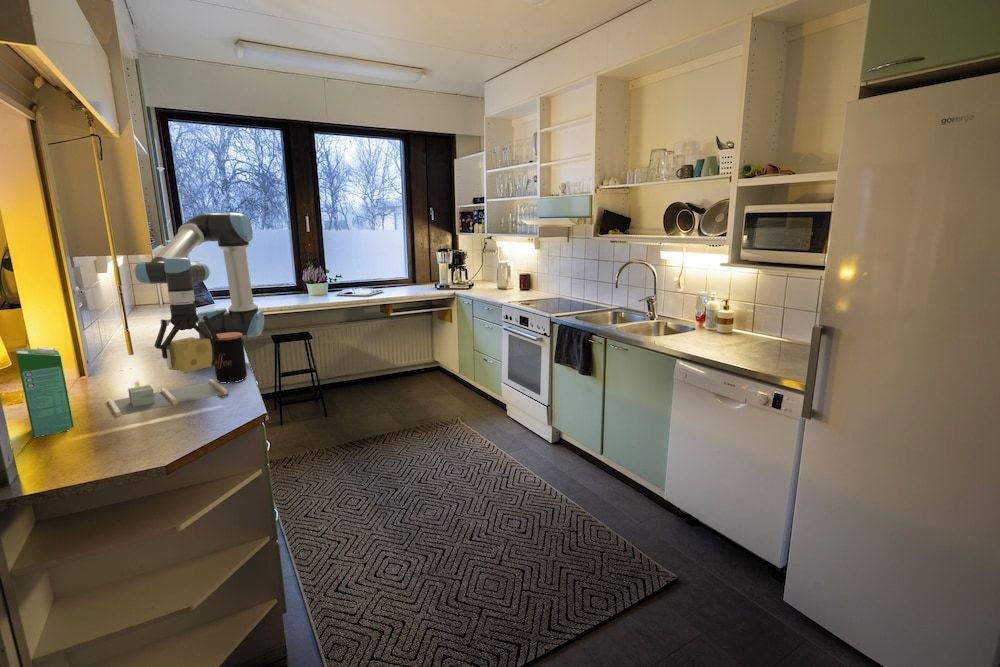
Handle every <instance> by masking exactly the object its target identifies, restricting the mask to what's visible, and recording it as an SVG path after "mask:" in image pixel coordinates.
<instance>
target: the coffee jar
mask: <svg viewBox="0 0 1000 667" xmlns="http://www.w3.org/2000/svg"><path fill="white" fill-rule="evenodd" d="M216 335H217V337H218V338H219V340H218V341H215V342H214V343H213V345H214V352H213V356H214V364H213V365H214V369H215V370H214V371H215V379H216V381H218V382H219V383H220V382H226V383H225V384H229V383H228V382H234V383H236V382H235V381H239V380H242V379H244V378H245V377H247V376H248V374H247V364H246V363H247V362H246V355H245V348H244V347H245V346H244V339H243V337H242V333H239V332H228V333H220V334H216ZM211 338H212V336H211ZM245 379H246V378H245ZM245 379H244V380H245ZM242 381H243V380H242ZM239 382H240V381H239Z"/></svg>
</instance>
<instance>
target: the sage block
mask: <svg viewBox="0 0 1000 667" xmlns="http://www.w3.org/2000/svg"><path fill="white" fill-rule="evenodd" d="M127 392H128V398H130V403H131V404H132V406H133V407H136V406H141V405H146V404H151V403H155V399H154V393H155V392H154V388H153V387H152V386H151V385H150V384H145V385H144V384H143V385H140V386H133V387H128V388H127Z"/></svg>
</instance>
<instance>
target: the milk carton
mask: <svg viewBox="0 0 1000 667" xmlns="http://www.w3.org/2000/svg"><path fill="white" fill-rule="evenodd" d="M14 349H15V355H16V359H17V360H16V361H17V364H18V369H19V375H20V380H21V383H22V384H21V385H22V389H23V394H24V399H25V405H26V408H27V413H28V418H29V424H30V428H31V435H32V438H33V437H38V436H42V435H47V436H49V435H48V434H52V435H54V434H53V433H57V434H59V433H58V432H61V433H64V432H63V431H66V432H68V431H67V430H69V428H75V425H74V421H73V415H72V409H71V404H70V399H69V395H68V393H69V392H68V387H67V383H66V382H67V381H66V378H65V372H64V367H63V362H62V361H63V360H62V356H61V354H60V352H59V350H56V348H53V347H46V346H44V347H43V346H40V347H39V346H38V347H37V348H36V349H35V348H20V347H18V348H17V347H16V348H14ZM69 431H70V430H69ZM38 438H39V437H38Z"/></svg>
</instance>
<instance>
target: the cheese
mask: <svg viewBox="0 0 1000 667" xmlns="http://www.w3.org/2000/svg"><path fill="white" fill-rule="evenodd" d="M167 348H168V349H169V351H170V358H171V365H172V368H168V367H167V369H168V370H170V371H179V372H182V373H184V374H185V373H189V372H193V371H197V370H200V369H201V370H202V369H206V368H210V367H212V365H213V364H212V346H211V342H210V339H200V338H199V337H192V336H191V337H186V338H181V339H176V340H175V339H174V340H172V341H171V342H170V344H169V345H168V347H167Z"/></svg>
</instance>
